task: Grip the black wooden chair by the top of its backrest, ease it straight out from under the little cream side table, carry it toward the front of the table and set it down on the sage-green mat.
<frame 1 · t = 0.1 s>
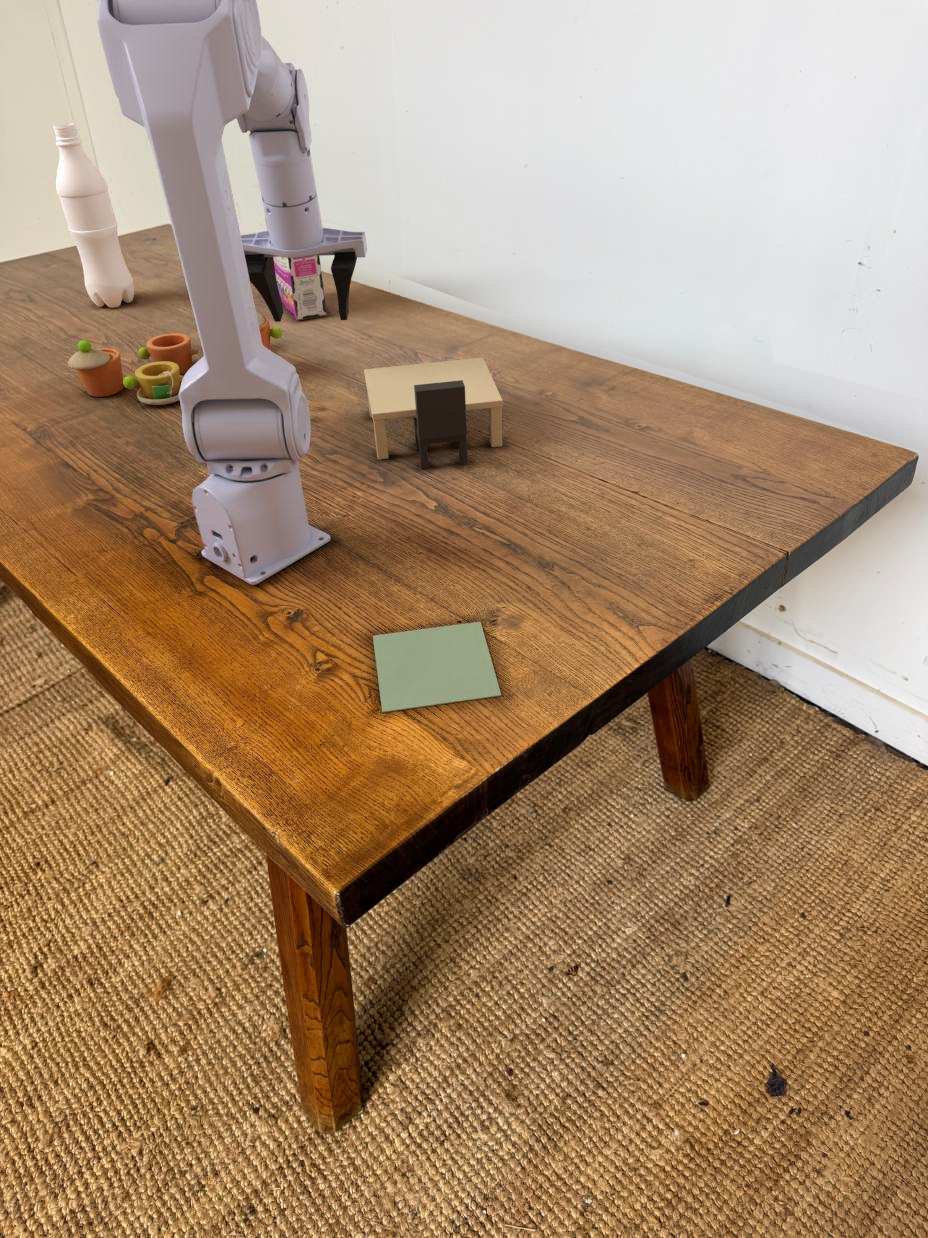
hand: (311, 316, 101), 11 cm above the table, tool pointing down, fingers open, 7 cm apart
chair: (441, 455, 96), on the table
mat: (434, 665, 69), on the table
water bottle: (115, 303, 140), on the table
side table: (433, 429, 101), on the table
toy tea set: (186, 380, 115), on the table
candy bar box: (302, 308, 135), on the table
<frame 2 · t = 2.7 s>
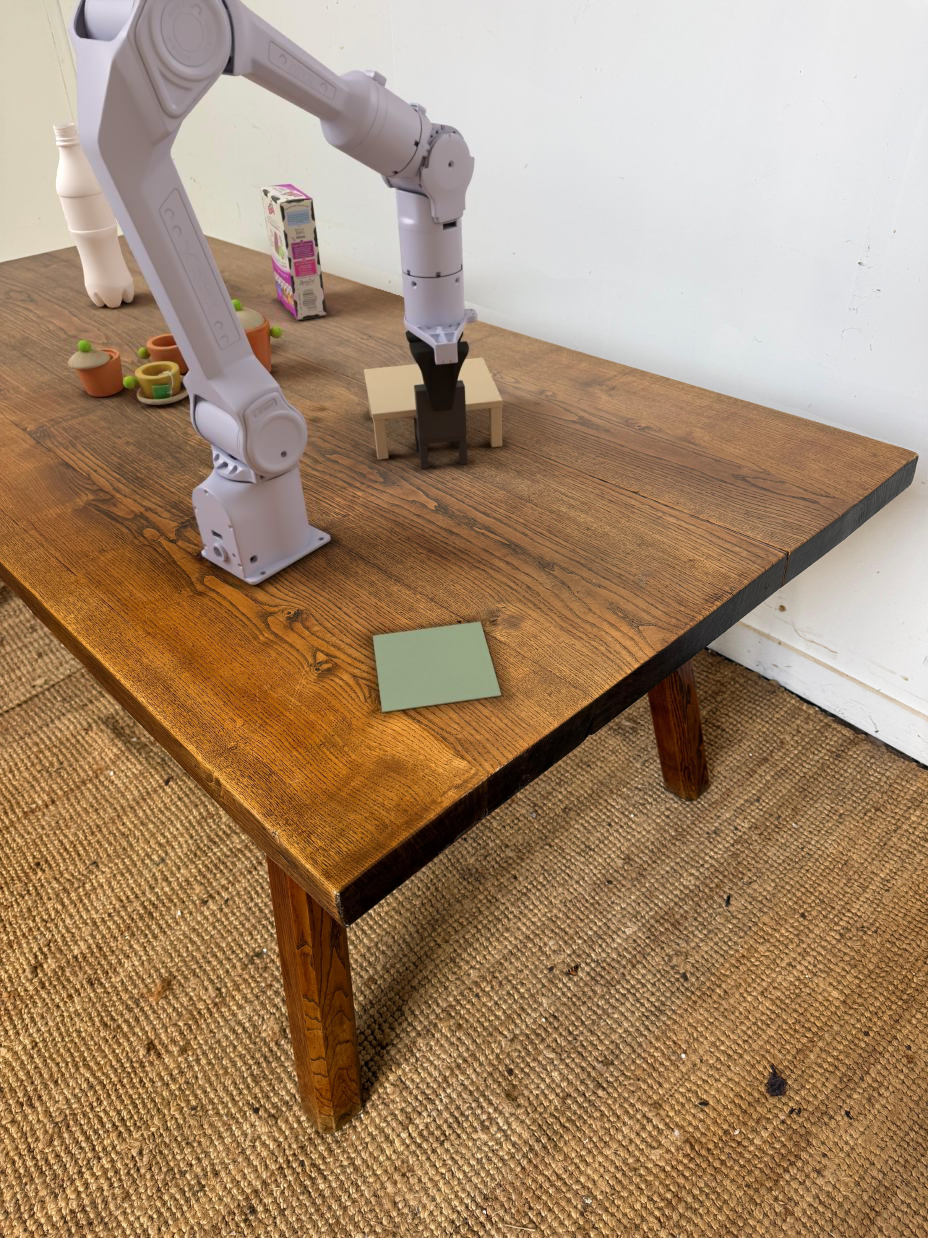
hand: (440, 404, 90), 7 cm above the table, tool pointing down, fingers closed on chair
chair: (441, 455, 96), on the table, touching gripper
everything else where it was.
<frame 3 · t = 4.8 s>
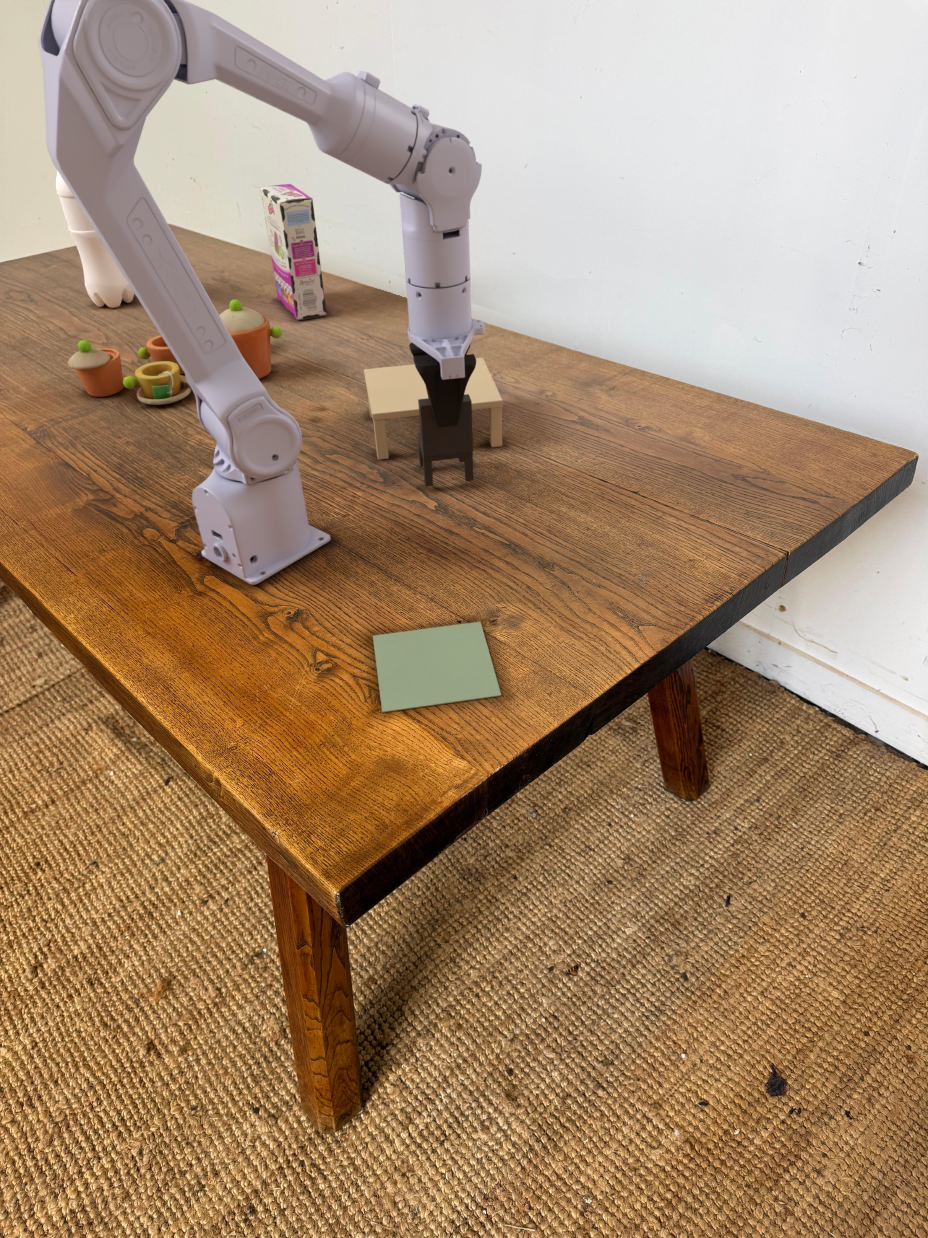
hand: (445, 419, 86), 7 cm above the table, tool pointing down, fingers closed on chair
chair: (446, 472, 92), point 1 cm above the table, touching gripper
everything else where it was.
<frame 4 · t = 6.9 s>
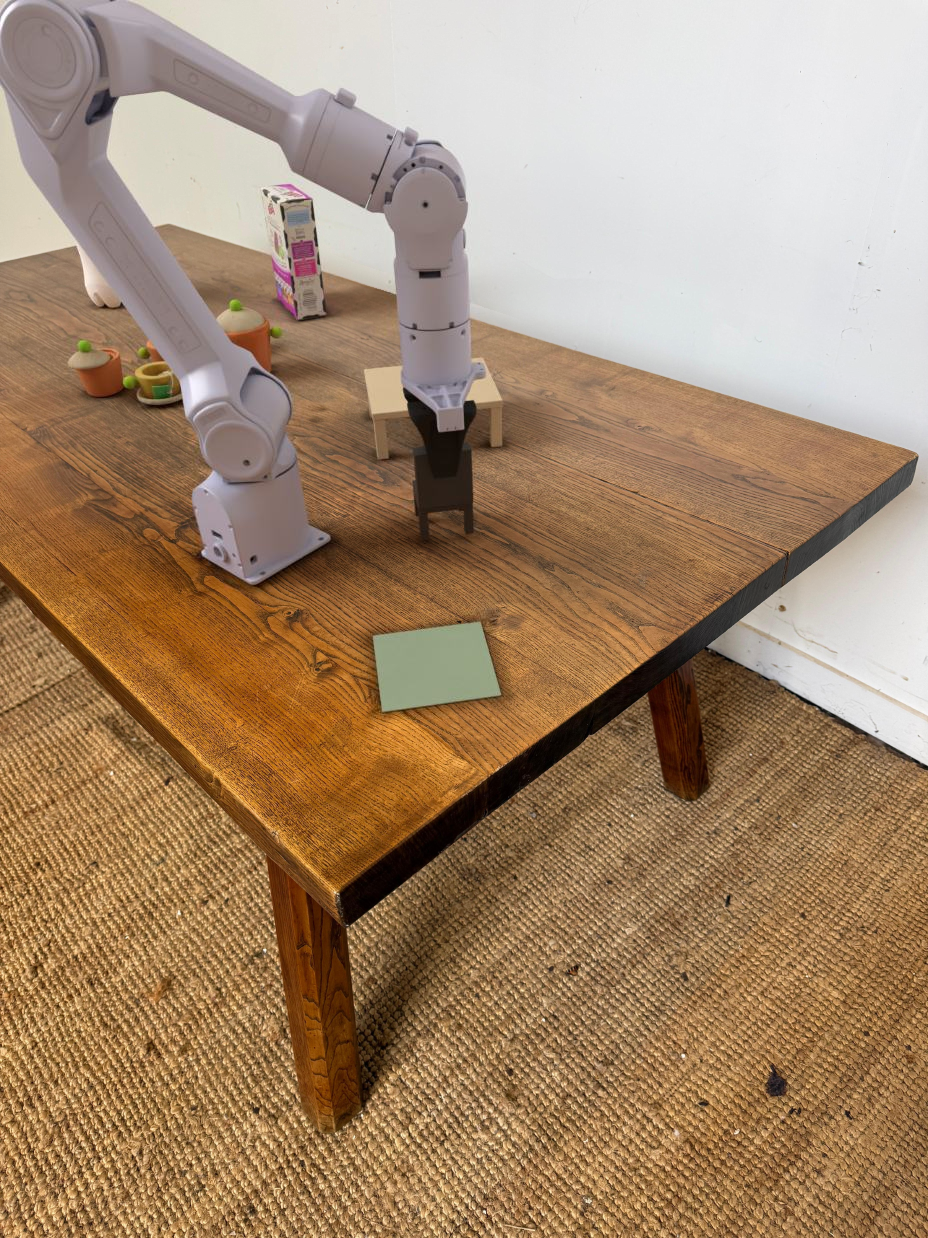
hand: (443, 469, 78), 7 cm above the table, tool pointing down, fingers closed on chair
chair: (443, 522, 84), point 1 cm above the table, touching gripper
everything else where it was.
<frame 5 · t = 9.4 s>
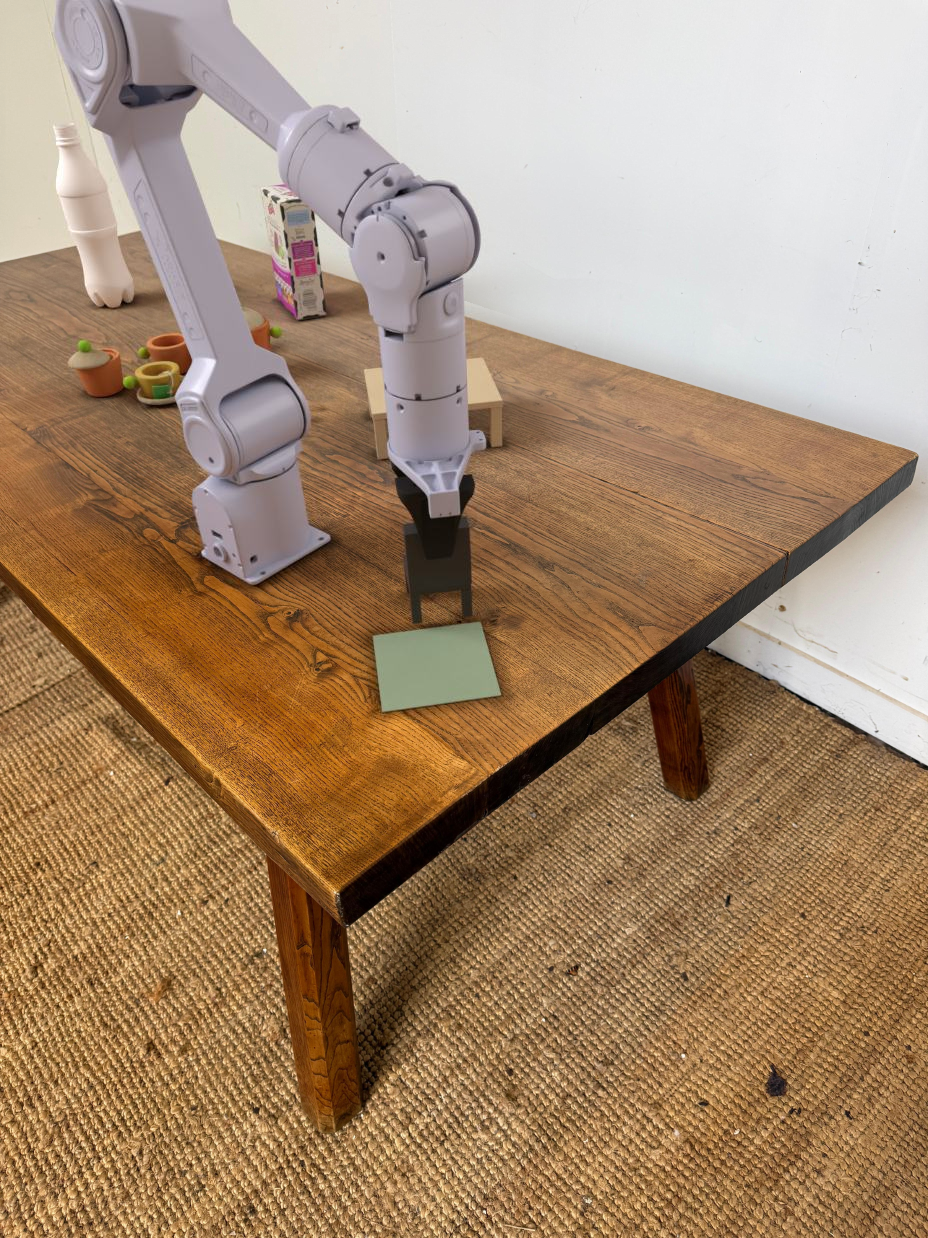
hand: (436, 548, 69), 8 cm above the table, tool pointing down, fingers closed on chair
chair: (438, 602, 75), point 1 cm above the table, touching gripper
everything else where it was.
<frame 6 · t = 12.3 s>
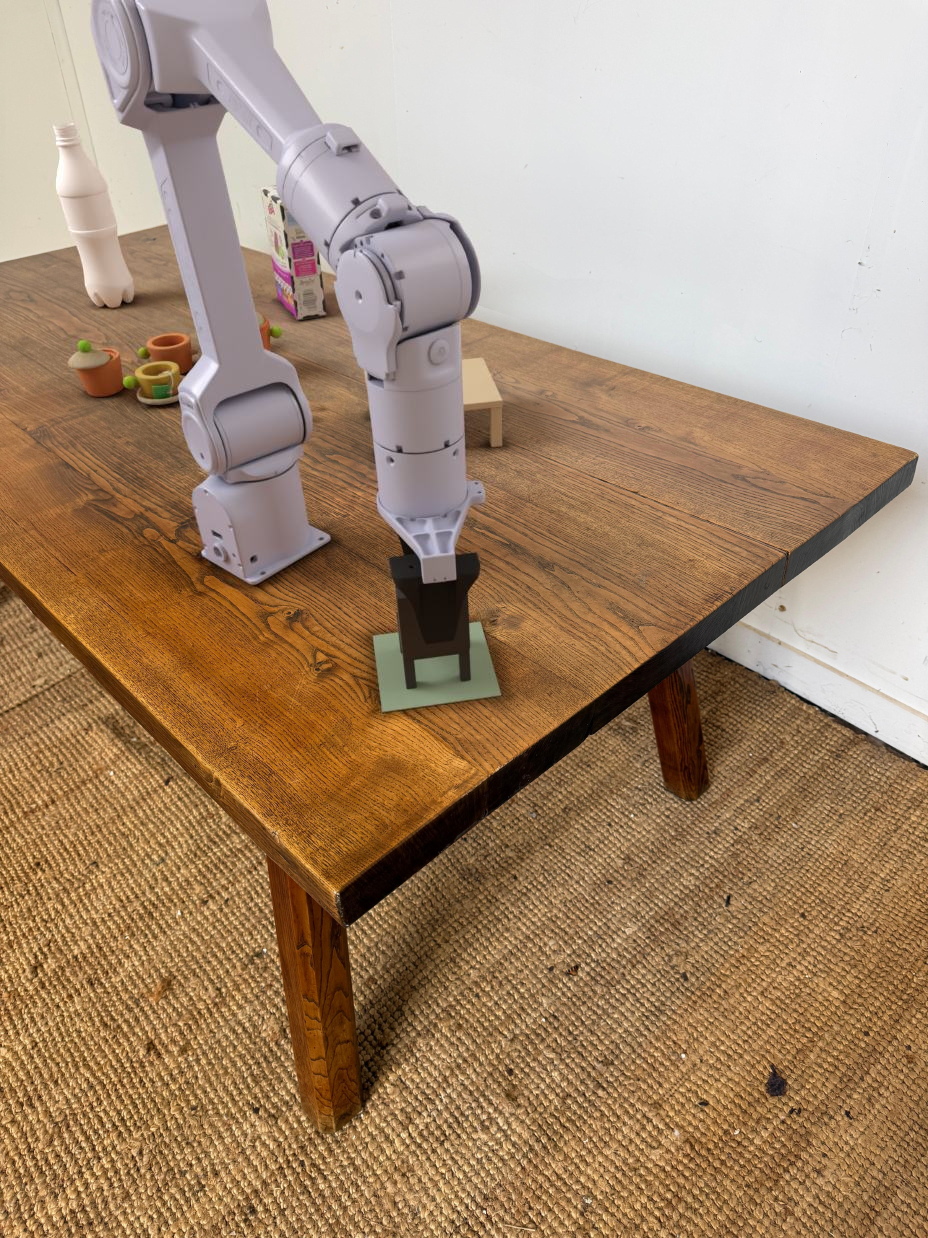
hand: (431, 605, 63), 8 cm above the table, tool pointing down, fingers open, 7 cm apart
chair: (434, 663, 69), resting on mat
everything else where it was.
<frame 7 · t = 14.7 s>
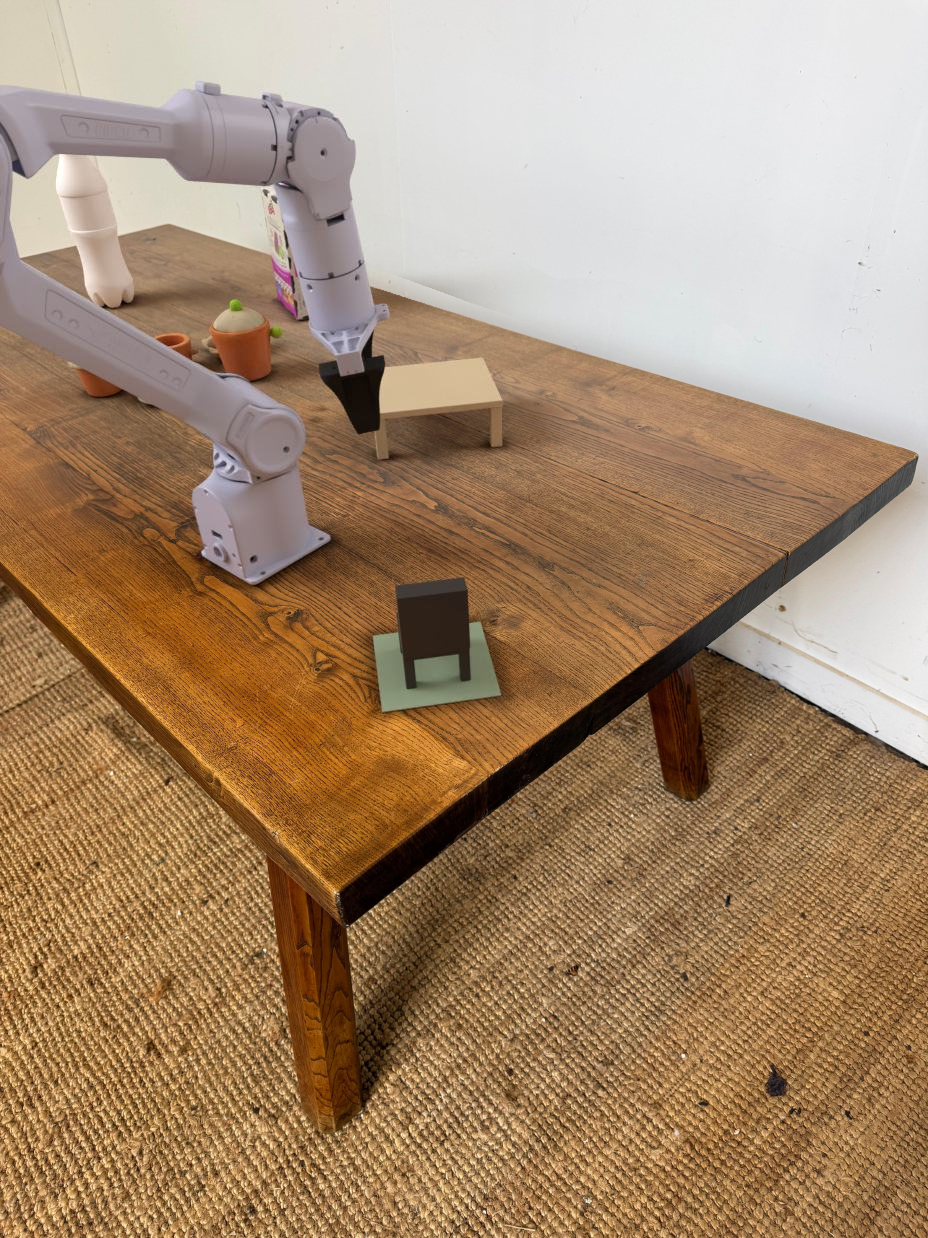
hand: (365, 409, 83), 10 cm above the table, tool pointing down, fingers open, 7 cm apart
nothing on the table moved.
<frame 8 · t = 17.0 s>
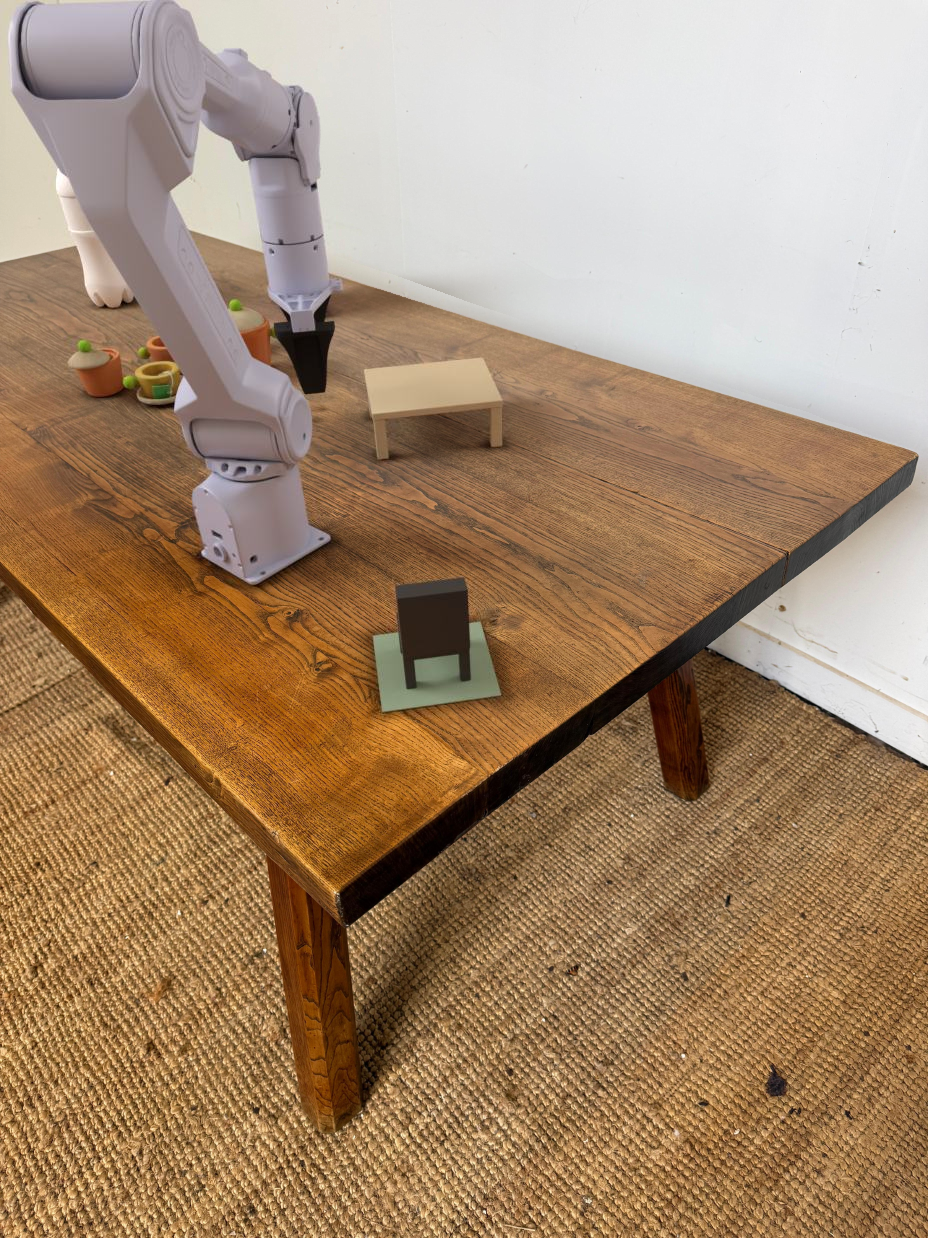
hand: (313, 376, 90), 10 cm above the table, tool pointing down, fingers open, 7 cm apart
nothing on the table moved.
at the end: chair inside the target area on the mat (0.0 cm from its centre), point 0.1 cm above the mat's base; chair tilted 0°; the gripper is holding nothing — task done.
